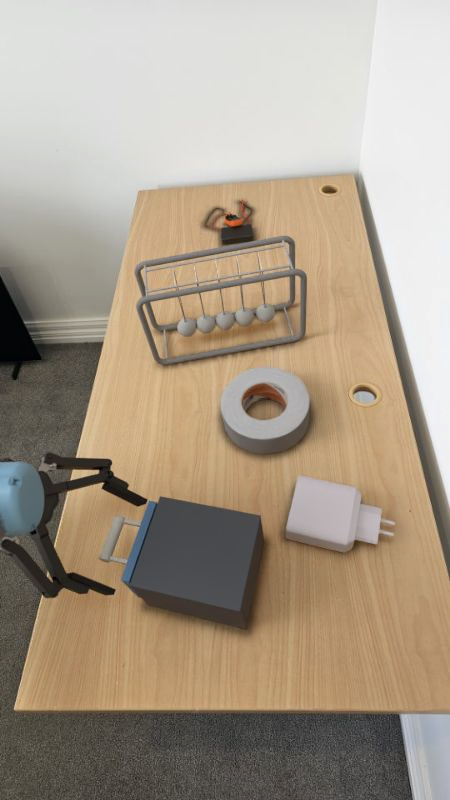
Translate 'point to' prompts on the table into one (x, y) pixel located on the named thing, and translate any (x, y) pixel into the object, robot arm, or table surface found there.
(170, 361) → the newton's cradle
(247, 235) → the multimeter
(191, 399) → the table surface
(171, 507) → the cabinet
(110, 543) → the drawer
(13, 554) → the robot arm
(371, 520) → the charger
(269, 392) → the tape roll
